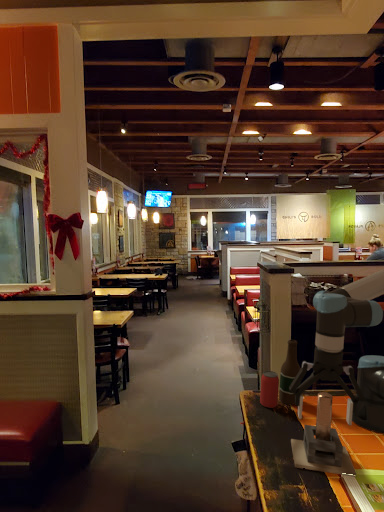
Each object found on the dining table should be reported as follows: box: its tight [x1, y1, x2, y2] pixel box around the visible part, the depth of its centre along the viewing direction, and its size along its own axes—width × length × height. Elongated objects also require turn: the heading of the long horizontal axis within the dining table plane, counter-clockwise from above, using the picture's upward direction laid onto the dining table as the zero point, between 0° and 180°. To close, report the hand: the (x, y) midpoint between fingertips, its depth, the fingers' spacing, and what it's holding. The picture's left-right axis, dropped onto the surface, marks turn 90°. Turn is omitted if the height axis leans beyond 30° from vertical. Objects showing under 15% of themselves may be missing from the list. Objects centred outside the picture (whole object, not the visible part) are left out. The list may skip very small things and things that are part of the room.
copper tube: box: [314, 391, 334, 455], centre depth 101 cm, size 4×4×18 cm
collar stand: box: [290, 424, 357, 476], centre depth 101 cm, size 16×12×7 cm
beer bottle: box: [278, 339, 302, 406], centre depth 135 cm, size 8×8×24 cm
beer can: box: [259, 370, 280, 409], centre depth 132 cm, size 7×7×12 cm
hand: (323, 419), depth 101 cm, fingers open, 13 cm apart
